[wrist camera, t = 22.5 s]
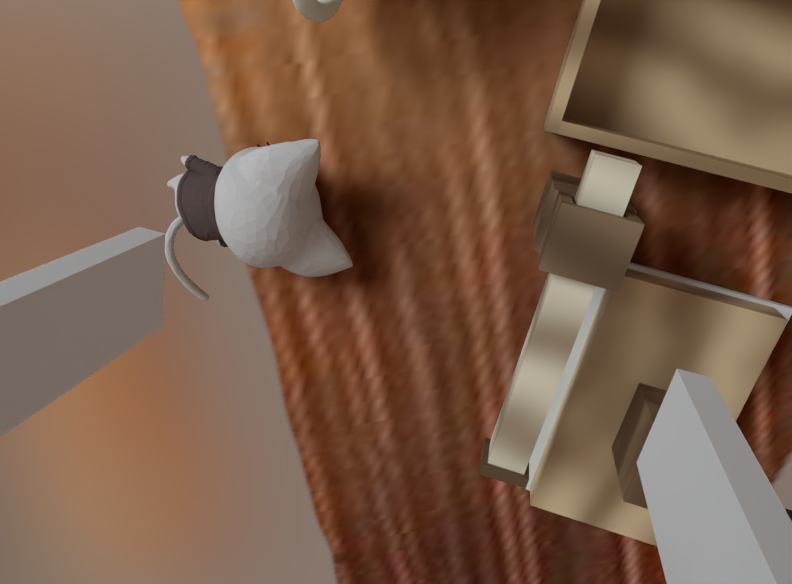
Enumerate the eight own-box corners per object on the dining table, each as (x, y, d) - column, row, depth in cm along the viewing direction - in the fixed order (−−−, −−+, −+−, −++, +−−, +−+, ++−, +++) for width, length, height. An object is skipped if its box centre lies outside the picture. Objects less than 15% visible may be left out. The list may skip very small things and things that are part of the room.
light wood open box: (601, -63, 38) (631, -125, 27) (963, 14, 36) (1168, -18, 24) (514, 216, 45) (509, 261, 34) (811, 298, 43) (915, 376, 31)
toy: (235, 244, 56) (376, 261, 50) (176, 305, 50) (328, 332, 44) (179, 112, 48) (341, 113, 42) (100, 165, 42) (275, 176, 36)
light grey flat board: (600, 253, 45) (601, 255, 44) (791, 306, 43) (794, 309, 43) (514, 481, 53) (514, 485, 52) (672, 532, 51) (673, 537, 51)
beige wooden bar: (585, 147, 35) (590, 153, 32) (639, 161, 34) (650, 168, 31) (482, 446, 43) (478, 473, 40) (525, 460, 42) (525, 489, 39)
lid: (530, 486, 52) (530, 562, 44) (614, 264, 44) (633, 306, 36) (662, 528, 51) (688, 616, 42) (774, 307, 43) (832, 361, 34)
